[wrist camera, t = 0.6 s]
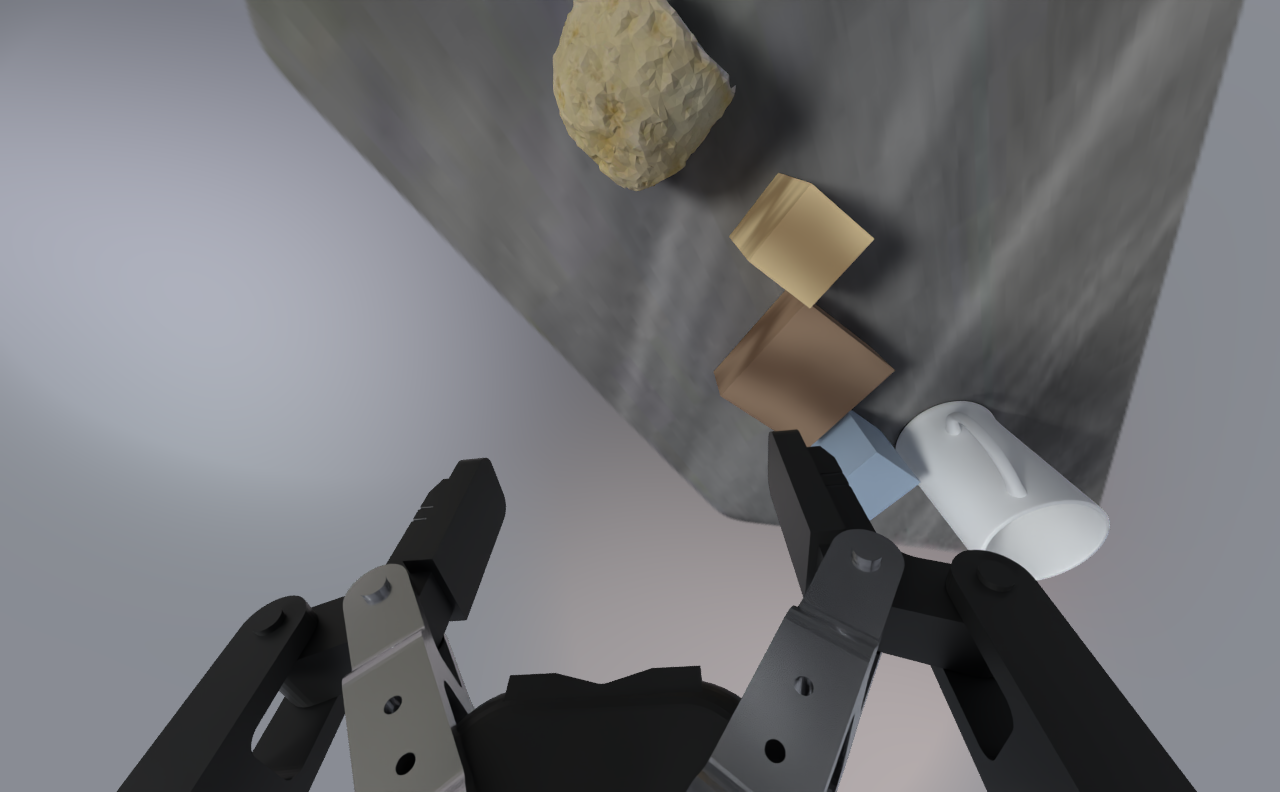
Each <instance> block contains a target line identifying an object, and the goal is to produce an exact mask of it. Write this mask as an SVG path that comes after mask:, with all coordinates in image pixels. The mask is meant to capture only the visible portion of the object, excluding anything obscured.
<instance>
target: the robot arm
mask: <svg viewBox="0 0 1280 792" xmlns="http://www.w3.org/2000/svg"><path fill="white" fill-rule="evenodd" d="M768 483H769V489H770V494H771V498H772V501H773V504H774V507H775V510H776V513H777V516H778V520H779V523H780V526H781V529H782V532H783V535H784V538H785V541H786V544H787V548H788V551H789V554H790V557H791V560H792V563H793V566H794V569H795V572H796V575H797V578H798V582H799V585H800V588H801V591H802V594H803V600H802V601H801V603H800V605H799V606H798V607H796V606H792V607H791V608H790V609H789V611H788V612H787V614H786V616H785V617H784V620H783V621H782V623H781V625H780V627H779V629H778V631H777V633H776V634H775V636H774V638H773V640H772V642H771V644H770V646H769V648H768V650H767V652H766V653H765V655H764V657H763V659H762V661H761V663H760V665H759V667H758V668H757V670H756V672H755V674H754V676H753V678H752V680H751V682H750V683H749V685H748V687H747V689H746V691H745V693H744V695H743V697H742V698H740V697H739V696H737V695H736V694H734V693H732V692H730V691H728V690H727V689H725V688H722V687H720V686H717V685H715V684H712V683H708V682H704V681H702V677H701V668H700V666H686V667H666V668H651V669H648V670H645V671H643V672H639V673H636V674H633V675H630V676H627V677H624V678H621V679H618V680H615V681H612V682H609V683H605V684H597V683H593V682H589V681H585V680H581V679H577V678H573V677H569V676H565V675H561V674H556V673H549V674H530V675H511V676H510V678H509V682H508V686H507V690H506V693H503V694H500V695H498V696H496V697H494V698H492V699H490V700H488V701H486V702H485V703H483V704H481V705H480V706H478V707H477V708H476V709H475V708H474V706H473V704H472V702H471V700H470V697H469V695H468V692H467V690H466V687H465V685H464V681H463V679H462V676H461V674H460V671H459V668H458V665H457V662H456V660H455V657H454V654H453V651H452V649H451V646H450V643H449V640H448V638H447V636H446V634H445V630H446V627H447V625H448V623H449V621H461V620H467V617H468V615H469V612H470V609H471V607H472V604H473V601H474V599H475V596H476V593H477V591H478V588H479V585H480V582H481V580H482V577H483V574H484V572H485V568H486V566H487V563H488V561H489V558H490V555H491V552H492V550H493V547H494V545H495V542H496V539H497V536H498V534H499V531H500V528H501V526H502V523H503V520H504V517H505V512H506V503H505V497H504V494H503V491H502V489H501V486H500V484H499V481H498V479H497V476H496V474H495V471H494V468H493V466H492V463H491V461H490V460H489V459H488V458H478V459H469V460H461V461H459V462H458V464H457V465H456V467H455V469H454V471H453V472H452V474H451V476H450V478H449V479H443V480H442V481H441V482H440V483H439V484H438V485H437V486H435V487H434V488H433V489H432V490H431V491H430V492H429V493H428V495H427V497H426V499H425V500H424V502H423V503H422V505H421V509H420V510H418V512H417V513H416V515H415V517H414V521H413V522H411V524H410V525H409V527H408V528H407V530H406V532H405V534H404V535H403V537H402V539H401V540H400V542H399V544H398V545H397V547H396V549H395V550H394V552H393V554H392V556H391V557H390V559H389V561H388V562H387V564H386V565H382V566H379V567H377V568H374V569H372V570H371V571H369V572H367V573H366V574H364V575H363V576H362V577H360V578H359V579H358V580H357V581H356V582H355V583H354V584H353V585H352V586H351V587H350V589H349V590H348V591H347V593H346V595H345V596H344V597H341V598H338V599H335V600H332V601H329V602H326V603H323V604H320V605H317V606H315V607H312V608H311V607H310V606H309V604H308V603H307V602H306V601H305V600H304V599H303V598H302V597H300V596H287V597H283V598H280V599H278V600H275V601H273V602H271V603H269V604H267V605H266V606H264V607H262V608H261V609H260V610H258V611H257V612H256V613H254V614H253V615H252V616H251V617H250V618H249V619H248V620H247V621H246V622H245V623H244V624H243V625H242V627H241V628H240V629H239V630H238V632H237V633H236V634H235V636H234V637H233V638H232V640H231V641H230V642H229V644H228V645H227V646H226V648H225V649H224V650H223V652H222V653H221V654H220V655H219V657H218V658H217V659H216V661H215V662H214V664H213V665H212V666H211V667H210V669H209V670H208V671H207V673H206V674H205V675H204V677H203V678H202V679H201V681H200V682H199V683H198V685H197V686H196V687H195V689H194V690H193V691H192V693H191V694H190V695H189V697H188V698H187V699H186V700H185V702H184V703H183V704H182V706H181V707H180V708H179V710H178V711H177V713H176V714H175V715H174V716H173V718H172V719H171V721H170V722H169V723H168V724H167V726H166V727H165V728H164V730H163V731H162V732H161V734H160V735H159V736H158V738H157V739H156V740H155V742H154V743H153V744H152V746H151V747H150V748H149V750H148V751H147V752H146V754H145V755H144V756H143V758H142V759H141V760H140V761H139V763H138V764H137V765H136V767H135V768H134V769H133V771H132V772H131V773H130V775H129V776H128V777H127V779H126V780H125V781H124V783H123V784H122V785H121V787H120V788H119V789H118V791H117V792H309V790H310V787H311V785H312V783H313V781H314V779H315V777H316V775H317V773H318V770H319V768H320V766H321V764H322V762H323V760H324V758H325V755H326V753H327V751H328V749H329V747H330V745H331V742H332V740H333V738H334V736H335V734H336V732H337V730H338V727H339V725H340V723H341V721H342V719H343V717H344V714H345V716H346V724H347V732H348V740H349V748H350V757H351V764H352V773H353V781H354V790H355V792H837V789H838V786H839V783H840V780H841V777H842V774H843V771H844V768H845V765H846V762H847V759H848V756H849V753H850V749H851V746H852V743H853V740H854V736H855V732H856V729H857V726H858V723H859V719H860V717H861V714H862V711H863V708H864V705H865V702H866V699H867V696H868V693H869V690H870V687H871V684H872V681H873V678H874V675H875V672H876V669H877V666H878V663H879V660H880V657H881V654H882V652H883V653H886V654H890V655H894V656H898V657H902V658H906V659H909V660H913V661H917V662H921V663H925V664H929V665H931V668H932V670H933V672H934V674H935V676H936V679H937V681H938V683H939V685H940V688H941V690H942V692H943V694H944V696H945V699H946V701H947V703H948V705H949V708H950V710H951V712H952V714H953V716H954V718H955V721H956V723H957V725H958V727H959V729H960V732H961V734H962V736H963V739H964V741H965V743H966V745H967V747H968V750H969V752H970V754H971V756H972V758H973V761H974V763H975V765H976V767H977V770H978V772H979V774H980V776H981V779H982V781H983V783H984V785H985V787H986V790H987V792H1197V791H1196V790H1195V789H1194V787H1193V786H1192V785H1191V783H1190V782H1189V781H1188V779H1187V778H1186V777H1185V775H1184V774H1183V773H1182V771H1181V770H1180V769H1179V768H1178V766H1177V765H1176V764H1175V762H1174V761H1173V760H1172V758H1171V757H1170V756H1169V755H1168V753H1167V752H1166V751H1165V749H1164V748H1163V747H1162V745H1161V744H1160V743H1159V741H1158V740H1157V739H1156V737H1155V736H1154V735H1153V733H1152V732H1151V731H1150V729H1149V728H1148V727H1147V725H1146V724H1145V723H1144V722H1143V720H1142V719H1141V718H1140V716H1139V715H1138V714H1137V712H1136V711H1135V710H1134V708H1133V707H1132V706H1131V704H1130V703H1129V702H1128V701H1127V699H1126V698H1125V697H1124V695H1123V694H1122V693H1121V691H1120V690H1119V689H1118V688H1117V686H1116V685H1115V683H1114V682H1113V681H1112V680H1111V678H1110V677H1109V676H1108V674H1107V673H1106V672H1105V670H1104V669H1103V668H1102V666H1101V665H1100V664H1099V662H1098V661H1097V660H1096V658H1095V657H1094V656H1093V655H1092V653H1091V652H1090V651H1089V649H1088V648H1087V647H1086V645H1085V644H1084V643H1083V641H1082V640H1081V639H1080V638H1079V636H1078V635H1077V633H1076V632H1075V631H1074V630H1073V628H1072V627H1071V626H1070V624H1069V623H1068V622H1067V621H1066V619H1065V618H1064V616H1063V615H1062V614H1061V612H1060V611H1059V610H1058V609H1057V607H1056V606H1055V605H1054V603H1053V602H1052V601H1051V599H1050V598H1049V597H1048V595H1047V594H1046V593H1045V591H1044V590H1043V589H1042V588H1041V586H1040V585H1039V584H1038V582H1037V581H1036V580H1035V578H1034V577H1033V576H1032V575H1031V574H1030V573H1029V572H1028V571H1027V570H1026V569H1025V568H1024V567H1022V566H1021V565H1019V564H1018V563H1016V562H1015V561H1013V560H1011V559H1009V558H1007V557H1005V556H1003V555H1000V554H997V553H994V552H990V551H985V550H967V551H964V552H961V553H959V554H958V555H957V556H955V558H954V559H953V561H952V564H948V563H943V562H938V561H933V560H927V559H922V558H917V557H913V556H910V555H907V554H904V553H902V552H901V551H900V550H899V549H898V547H897V546H896V545H895V544H894V543H893V542H892V541H890V540H889V539H888V538H886V537H884V536H882V535H880V534H878V533H876V531H875V530H874V528H873V526H872V524H871V523H870V521H869V519H868V517H867V515H866V513H865V512H864V510H863V508H862V506H861V504H860V502H859V501H858V499H857V497H856V495H855V493H854V492H853V490H852V488H851V486H849V482H848V481H847V479H846V477H845V475H844V474H843V471H842V470H841V468H840V466H839V464H838V462H837V460H836V459H835V457H834V456H832V455H831V454H830V453H829V452H827V451H826V450H825V449H824V448H822V447H821V446H812V447H807V446H806V444H805V442H804V440H803V438H802V436H801V434H800V432H799V430H797V429H794V430H783V431H773V432H769V438H768ZM278 691H280V692H281V693H282V694H283V695H284V696H285V697H284V699H283V701H282V702H281V704H280V706H279V708H278V709H277V711H276V713H275V715H274V716H273V718H272V720H271V721H270V723H269V725H268V726H267V728H266V730H265V731H264V733H263V735H262V737H261V738H260V740H259V742H258V743H257V745H256V747H255V749H254V750H253V752H252V751H251V742H252V737H253V734H254V732H255V729H256V728H257V726H258V724H259V722H260V721H261V719H262V718H263V716H264V714H265V712H266V711H267V709H268V707H269V706H270V704H271V702H272V701H273V699H274V697H275V696H276V694H277V693H278Z"/></svg>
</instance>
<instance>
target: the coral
mask: <svg viewBox="0 0 1280 792" xmlns="http://www.w3.org/2000/svg"><path fill="white" fill-rule="evenodd" d="M573 3H574V6H573V9H572V11H571V12H570V13H569V14H567V20H566V22H565V26H564V27H563V31H562V35H561V38H560V44H559V46H558V48H557V50H556V52H555V54H554V55H553V69H554V76H553V80H554V82H553V89H554V94H555V98H556V101H557V105H558V107H559V110H560V116H561V118H562V120H563V124H565V126H566V129H567V131H568V134H569V135H570V136H571V137H572V138H573V139H574V140H575V141H576V143H577V146H579V147H580V148H581V149H582V150H583V151H584V152H586V153H587V154H588V155H589V156H590V157H591V158H592V159H593V160H594V161H595V162H596V163H597V164H598V165H599V168H600V171H602V172H603V173H604V174H605V175H607V176H608V177H609V178H611V179H612V180H613V181H614V182H615V183H616V184H618V185H620V186H621V187H623V188H626V187H627V188H629V189H630V190H635V191H640V190H643V189H645V188H649V187H650V186H655V184H657V183H659V182H660V181H662V180H664V179H666V178H668V177H670V176H672V175H674V174H675V173H677V172H678V171H680V170H681V169H682V168H683V167H685V166H686V160H687V159H688V158H689V156H690V155H691V154H692V153H694V152H695V151H696V149H697V147H699V145H700V144H701V143H702V142H703V140H704V139H705V138H706V136H707V135H708V133H709V132H710V129H711V127H712V126H713V125H714V124H715V123H716V121H717V120H718V119H720V118H721V117H722V116H723V114H724V111H725V110H726V108H727V107H728V105H729V104H730V103H731V102H732V99H733V97H734V96H735V95H734V93H735V89H736V85H735V86H734V87H733V88H731V87H730V84H729V74H728V73H727V72H726V71H725V70H723V69H722V68H721V67H720V66H719V65H718V64H717V63H716V62H715V61H714V60H713V59H712V58H711V57H709V56H708V55H707V53H706V52H705V51H704V49H703V48H702V47H701V45H700V44H699V43H698V41H697V40H696V38H695V36H694V35H693V34H692V33H691V32H690V30H689V29H688V27H687V26H686V25H685V23H684V22H683V21H682V19H681V18H680V16H679V15H678V14H677V12H676V11H675V10H674V9H673V8H672V7H671V6H670V4H669V3H668V2H667V1H666V0H574V1H573Z"/></svg>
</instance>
